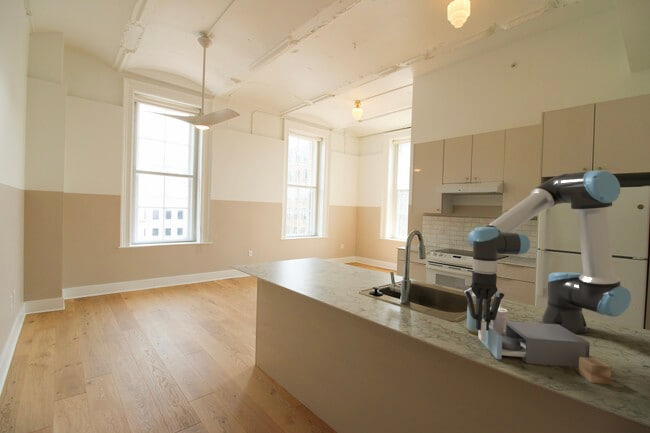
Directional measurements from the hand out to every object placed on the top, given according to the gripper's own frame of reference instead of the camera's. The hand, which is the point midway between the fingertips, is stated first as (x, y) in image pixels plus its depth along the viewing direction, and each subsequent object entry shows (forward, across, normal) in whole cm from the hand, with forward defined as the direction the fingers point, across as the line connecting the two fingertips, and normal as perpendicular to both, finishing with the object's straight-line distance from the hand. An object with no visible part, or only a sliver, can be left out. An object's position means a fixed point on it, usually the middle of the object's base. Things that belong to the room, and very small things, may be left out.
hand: (481, 338), depth 106 cm
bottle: (+4, -4, -16) cm, 17 cm away
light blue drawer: (+3, -11, 0) cm, 11 cm away
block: (+4, -26, +14) cm, 30 cm away
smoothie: (+4, -12, -16) cm, 20 cm away
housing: (+4, -20, 0) cm, 20 cm away
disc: (+2, -8, 0) cm, 8 cm away
